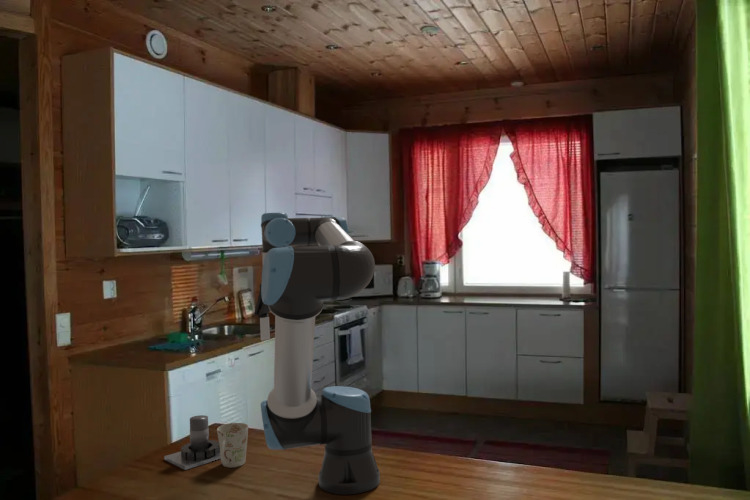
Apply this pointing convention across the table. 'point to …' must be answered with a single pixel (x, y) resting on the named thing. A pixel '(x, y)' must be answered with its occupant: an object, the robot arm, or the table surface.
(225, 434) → the mug
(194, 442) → the lens
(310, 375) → the robot arm
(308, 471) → the table surface
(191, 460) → the mount
